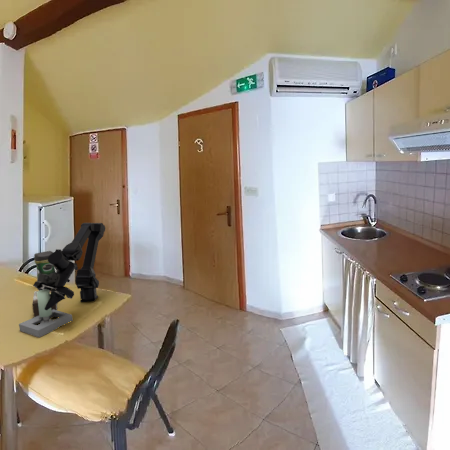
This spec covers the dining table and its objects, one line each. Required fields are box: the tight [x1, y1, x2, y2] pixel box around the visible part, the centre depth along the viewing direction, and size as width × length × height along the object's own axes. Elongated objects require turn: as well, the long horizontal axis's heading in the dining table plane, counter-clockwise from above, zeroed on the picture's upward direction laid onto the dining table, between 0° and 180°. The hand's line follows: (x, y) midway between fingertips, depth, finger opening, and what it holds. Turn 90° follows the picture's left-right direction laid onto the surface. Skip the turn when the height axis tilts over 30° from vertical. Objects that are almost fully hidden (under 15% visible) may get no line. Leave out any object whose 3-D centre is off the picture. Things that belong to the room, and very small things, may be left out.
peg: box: [37, 289, 54, 324], centre depth 137 cm, size 5×5×14 cm
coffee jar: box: [33, 250, 56, 281], centre depth 183 cm, size 10×8×19 cm
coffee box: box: [31, 290, 58, 318], centre depth 154 cm, size 9×6×16 cm
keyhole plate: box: [18, 309, 74, 338], centre depth 138 cm, size 15×12×3 cm
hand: (41, 308), depth 136 cm, fingers closed on peg, 4 cm apart
